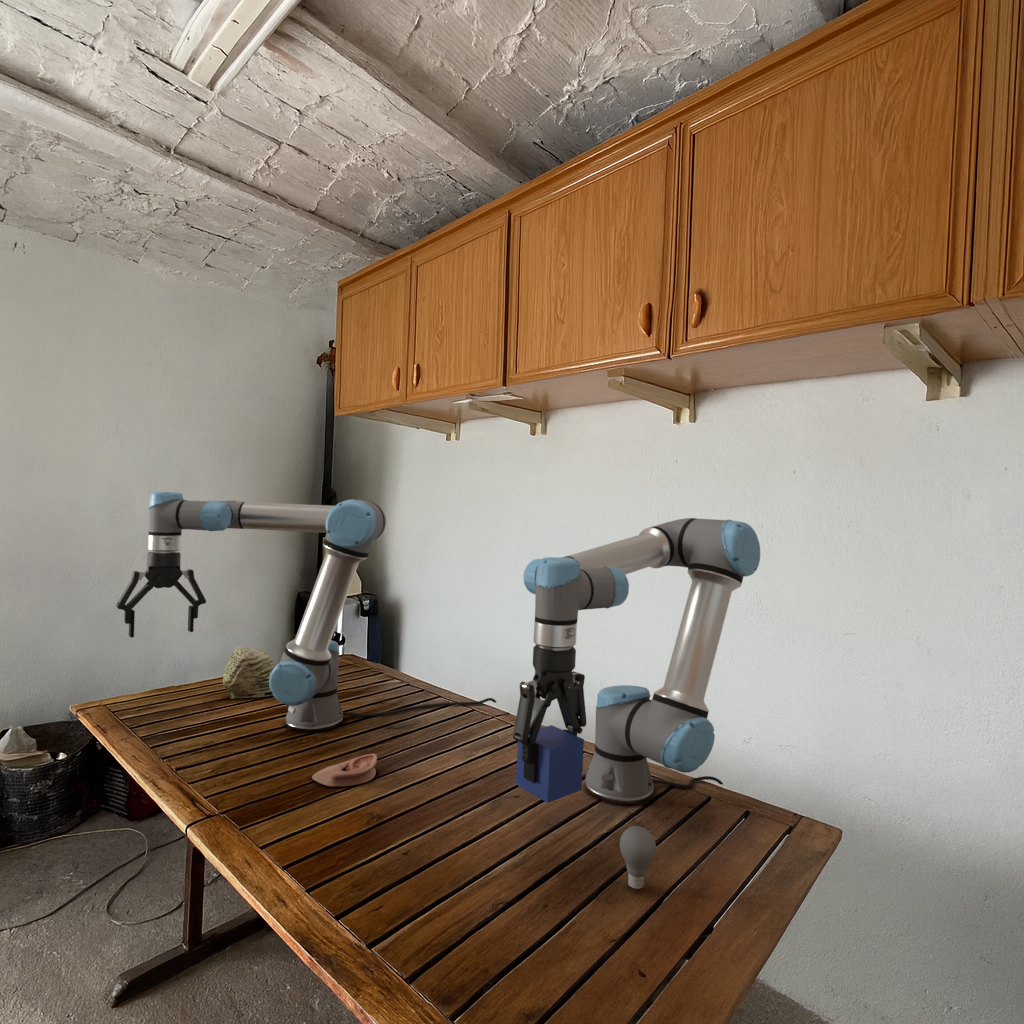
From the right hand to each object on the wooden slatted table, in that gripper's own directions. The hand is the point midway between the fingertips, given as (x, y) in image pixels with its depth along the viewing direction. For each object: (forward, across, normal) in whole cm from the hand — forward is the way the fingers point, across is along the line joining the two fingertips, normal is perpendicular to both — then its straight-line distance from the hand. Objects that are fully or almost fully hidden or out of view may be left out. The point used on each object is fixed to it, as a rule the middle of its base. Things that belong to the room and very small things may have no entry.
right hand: (549, 773), depth 112 cm
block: (+2, 0, 0) cm, 2 cm away
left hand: (-10, -42, +102) cm, 111 cm away
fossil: (+16, -12, +121) cm, 123 cm away
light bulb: (+16, +8, -14) cm, 23 cm away
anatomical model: (+16, -14, +52) cm, 56 cm away
